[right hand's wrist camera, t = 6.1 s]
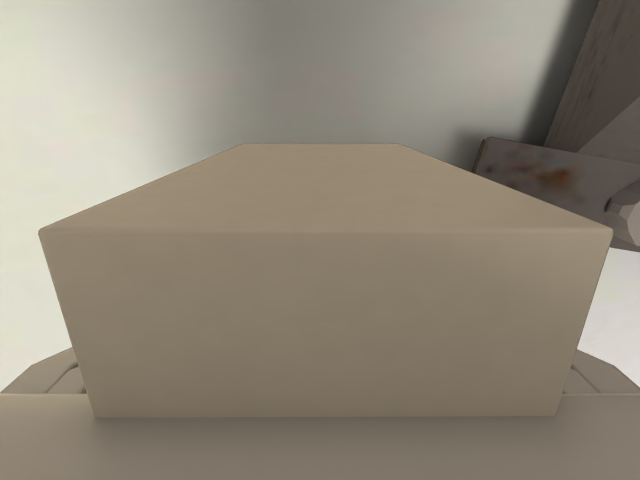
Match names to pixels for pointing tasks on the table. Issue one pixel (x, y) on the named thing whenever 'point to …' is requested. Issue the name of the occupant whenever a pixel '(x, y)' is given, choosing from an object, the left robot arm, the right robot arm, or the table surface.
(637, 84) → the toy
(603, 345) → the table surface
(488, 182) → the box
